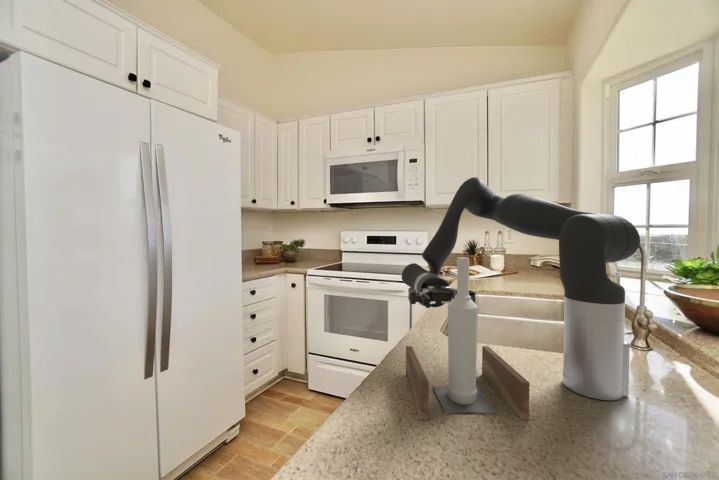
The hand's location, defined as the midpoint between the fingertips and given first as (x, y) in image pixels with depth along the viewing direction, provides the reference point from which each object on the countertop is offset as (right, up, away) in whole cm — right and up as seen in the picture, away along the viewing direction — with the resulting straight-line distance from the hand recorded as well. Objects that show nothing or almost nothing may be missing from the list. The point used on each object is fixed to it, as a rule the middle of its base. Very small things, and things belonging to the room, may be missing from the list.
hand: (449, 303), depth 64 cm
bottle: (0, -16, -8) cm, 17 cm away
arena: (0, -16, -6) cm, 17 cm away
